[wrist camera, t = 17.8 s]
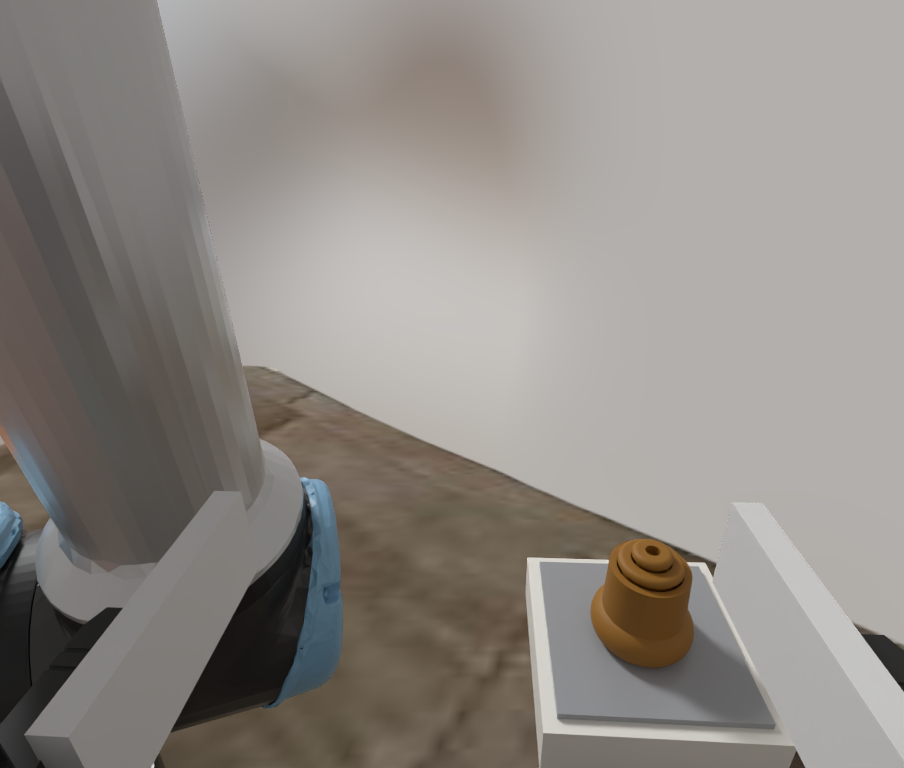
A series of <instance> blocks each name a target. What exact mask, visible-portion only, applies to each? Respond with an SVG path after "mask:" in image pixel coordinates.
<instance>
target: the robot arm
mask: <svg viewBox="0 0 904 768" xmlns="http://www.w3.org/2000/svg"><path fill="white" fill-rule="evenodd" d="M0 436H1V437H2V439H3V441H4V442H5V444H6V446H7V447H8V449H9V450H10V452H11V454H12V455H13V457H14V459H15V460H16V462H17V464H18V465H19V467H20V468H21V470H22V472H23V473H24V475H25V477H26V478H27V480H28V481H29V483H30V485H31V486H32V488H33V490H34V491H35V493H36V495H37V496H38V498H39V499H40V501H41V503H42V504H43V506H44V508H45V509H46V511H47V513H48V514H49V516H50V519H49V520H48V522H47V524H46V525H45V527H44V529H39V530H32V531H26V530H23V520H22V518H21V517H20V515H19V513H17V512H14V511H12V510H11V509H10V508H9V506H8V505H7V504H5V503H3V502H0V768H164V764H163V762H162V759H161V756H160V754H159V752H160V750H161V748H162V746H163V744H164V743H165V741H166V739H167V737H168V735H169V733H171V732H174V731H178V730H181V729H185V728H188V727H191V726H195V725H198V724H202V723H205V722H209V721H212V720H216V719H219V718H223V717H226V716H230V715H233V714H237V713H240V712H244V711H247V710H251V709H254V708H258V707H263V708H273V707H276V706H278V705H279V704H280V703H282V702H283V701H284V700H285V699H287V698H290V697H293V696H296V695H299V694H301V693H304V692H307V691H310V690H313V689H316V688H318V687H320V686H321V685H323V684H324V683H326V682H327V681H328V680H329V679H330V678H331V676H332V675H333V674H334V672H335V670H336V668H337V666H338V663H339V660H340V655H341V648H342V634H343V607H342V595H341V590H340V584H341V579H340V573H341V564H340V552H339V542H338V533H337V525H336V518H335V512H334V507H333V502H332V497H331V494H330V491H329V488H328V486H327V485H326V484H325V483H324V482H323V481H321V480H319V479H307V478H305V477H303V478H301V477H299V475H298V473H297V470H296V468H295V467H294V465H293V463H292V461H291V460H290V459H289V458H288V457H287V456H286V455H285V454H284V453H283V452H282V451H280V450H279V449H278V448H276V447H275V446H273V445H271V444H270V443H268V442H266V441H263V440H261V439H259V435H258V431H257V427H256V423H255V418H254V414H253V410H252V406H251V401H250V397H249V393H248V388H247V384H246V380H245V376H244V371H243V367H242V363H241V359H240V354H239V350H238V346H237V342H236V337H235V333H234V329H233V324H232V320H231V316H230V312H229V307H228V303H227V299H226V294H225V290H224V286H223V282H222V278H221V273H220V269H219V265H218V260H217V256H216V252H215V248H214V243H213V239H212V235H211V230H210V226H209V222H208V218H207V213H206V209H205V205H204V201H203V196H202V192H201V188H200V183H199V179H198V175H197V171H196V167H195V162H194V158H193V154H192V149H191V145H190V141H189V136H188V132H187V128H186V124H185V120H184V115H183V111H182V107H181V103H180V98H179V94H178V90H177V85H176V81H175V77H174V72H173V68H172V64H171V60H170V56H169V51H168V47H167V43H166V39H165V34H164V30H163V25H162V21H161V17H160V13H159V8H158V4H157V0H0ZM712 582H713V584H714V586H715V588H716V590H717V592H718V594H719V596H720V598H721V600H722V602H723V604H724V606H725V608H726V610H727V612H728V614H729V616H730V618H731V620H732V622H733V624H734V626H735V628H736V630H737V632H738V634H739V636H740V638H741V640H742V642H743V644H744V646H745V648H746V650H747V652H748V654H749V656H750V658H751V660H752V662H753V664H754V666H755V668H756V670H757V672H758V674H759V676H760V678H761V680H762V682H763V684H764V686H765V688H766V690H767V692H768V694H769V696H770V698H771V700H772V702H773V704H774V706H775V708H776V710H777V712H778V714H779V716H780V718H781V720H782V722H783V724H784V726H785V728H786V730H787V732H788V734H789V736H790V738H791V740H792V742H793V744H794V746H795V748H796V750H797V752H798V754H799V756H800V758H801V760H802V762H803V764H804V766H805V768H904V651H903V650H902V649H901V648H900V647H898V646H897V645H896V644H894V643H893V642H892V641H891V640H889V639H888V638H887V637H886V636H884V635H865V634H860V633H859V631H858V630H857V629H856V627H855V626H854V625H853V623H852V622H851V621H850V619H849V618H848V617H847V615H846V614H845V613H844V611H843V610H842V609H841V608H840V606H839V605H838V603H837V602H836V601H835V599H834V598H833V597H832V595H831V594H830V593H829V591H828V590H827V589H826V587H825V586H824V585H823V583H822V582H821V581H820V579H819V578H818V577H817V575H816V574H815V573H814V571H813V570H812V569H811V567H810V566H809V565H808V563H807V562H806V560H805V559H804V558H803V557H802V555H801V554H800V552H799V551H798V550H797V548H796V547H795V546H794V544H793V543H792V542H791V540H790V539H789V538H788V537H787V535H786V534H785V532H784V531H783V530H782V528H781V527H780V526H779V525H778V523H777V522H776V520H775V519H774V518H773V516H772V515H771V514H770V512H769V511H768V510H767V508H766V507H765V506H764V504H763V503H742V502H741V503H740V502H732V504H731V508H730V512H729V516H728V521H727V525H726V528H725V532H724V536H723V541H722V545H721V549H720V553H719V557H718V561H717V565H716V569H715V573H714V577H713V581H712Z"/></svg>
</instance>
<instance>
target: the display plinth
mask: <svg viewBox="0 0 904 768" xmlns="http://www.w3.org/2000/svg"><path fill="white" fill-rule="evenodd" d="M608 563H609V560H592V559H558V558H527V577H526V604H527V617H528V630H529V642H530V655H531V668H532V680H533V693H534V706H535V719H536V731H537V744H538V757H539V768H789V767H790V765H791V762H792V760H793V757H794V755H795V753H796V748H795V746H794V744H793V742H792V740H791V738H790V736H789V734H788V732H787V730H786V728H785V726H784V724H783V722H782V720H781V718H780V716H779V714H778V712H777V710H776V708H775V706H774V704H773V702H772V700H771V698H770V696H769V694H768V692H767V690H766V688H765V686H764V684H763V682H762V680H761V678H760V676H759V674H758V672H757V670H756V668H755V666H754V664H753V662H752V660H751V658H750V656H749V654H748V652H747V650H746V648H745V646H744V644H743V642H742V640H741V638H740V636H739V634H738V632H737V630H736V628H735V626H734V624H733V622H732V620H731V618H730V616H729V614H728V612H727V610H726V608H725V606H724V604H723V602H722V600H721V598H720V596H719V594H718V592H717V590H716V588H715V586H714V584H713V582H712V581H713V577H712V575H711V573H710V571H709V569H708V568H707V566H706V564H705V563H693V562H687V564H688V565H689V567H690V569H691V571H692V576H693V579H692V586H691V592H690V598H689V604H688V610H689V612H690V614H691V617H692V620H693V624H694V639H693V643H692V645H691V648H690V649H689V651H688V653H687V654H686V655H685V656H684V657H683V658H682V659H681V660H679V661H678V662H676V663H674V664H672V665H669V666H666V667H660V668H648V667H642V666H637V665H634V664H631V663H629V662H627V661H625V660H623V659H621V658H619V657H618V656H616V655H615V654H613V653H612V652H611V651H610V650H609V649H608V648H607V647H606V646H605V645H604V644H603V643H602V642H601V640H600V639H599V637H598V636H597V634H596V632H595V630H594V628H593V625H592V621H591V614H590V610H591V603H592V600H593V597H594V595H595V593H596V592H597V590H598V589H599V588H600V587H601V586H602V585H603V584H605V579H606V574H607V568H608Z"/></svg>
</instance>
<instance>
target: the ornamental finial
mask: <svg viewBox="0 0 904 768" xmlns="http://www.w3.org/2000/svg"><path fill="white" fill-rule="evenodd" d="M692 579H693V576H692V571H691V569H690V567H689V565H688V564H687V562H686V561H685V560H684V559H683V558H682V557H681V556H680V555H679V554H678V553H677V552H675V551H674V550H673V549H672V548H670V547H669V546H667V545H665V544H663V543H661V542H659V541H656V540H651V539H636V540H632V541H627V542H624V543H622V544H620V545H618V546H616V547H615V548H614V549H613V551H612V552H611V554H610V558H609V563H608V568H607V574H606V579H605V584H603V585H602V586H601V587H600V588H599V589H598V590H597V592H596V593H595V595H594V597H593V600H592V603H591V610H590V614H591V621H592V625H593V628H594V630H595V632H596V634H597V636H598V637H599V639H600V640H601V642H602V643H603V644H604V645H605V646H606V647H607V648H608V649H609V650H610V651H611V652H612V653H613V654H615V655H616V656H618V657H619V658H621V659H623V660H625V661H627V662H629V663H631V664H634V665H637V666H642V667H648V668H660V667H666V666H669V665H672V664H674V663H676V662H678V661H679V660H681V659H682V658H683V657H684V656H685V655H686V654H687V653H688V651H689V649H690V648H691V645H692V643H693V639H694V624H693V620H692V617H691V614H690V612H689V610H688V604H689V598H690V592H691V586H692Z"/></svg>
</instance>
